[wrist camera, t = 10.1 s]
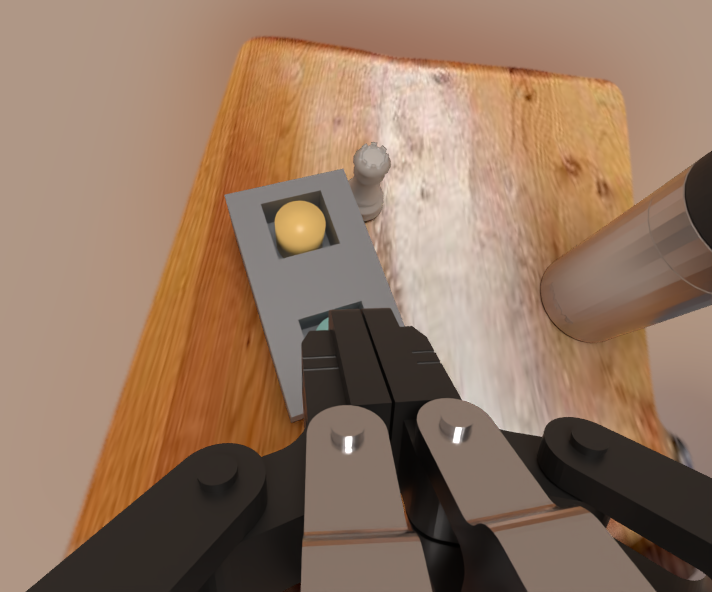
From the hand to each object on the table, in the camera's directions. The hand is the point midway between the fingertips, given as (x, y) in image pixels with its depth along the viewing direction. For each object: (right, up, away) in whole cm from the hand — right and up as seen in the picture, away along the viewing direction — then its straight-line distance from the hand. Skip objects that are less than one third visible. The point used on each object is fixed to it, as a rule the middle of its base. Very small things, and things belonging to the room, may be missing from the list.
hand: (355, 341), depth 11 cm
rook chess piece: (0, +10, +34) cm, 35 cm away
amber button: (-5, +6, +27) cm, 28 cm away
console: (-4, 0, +29) cm, 29 cm away
